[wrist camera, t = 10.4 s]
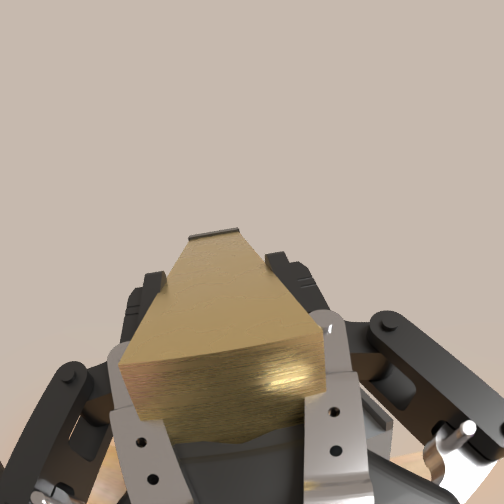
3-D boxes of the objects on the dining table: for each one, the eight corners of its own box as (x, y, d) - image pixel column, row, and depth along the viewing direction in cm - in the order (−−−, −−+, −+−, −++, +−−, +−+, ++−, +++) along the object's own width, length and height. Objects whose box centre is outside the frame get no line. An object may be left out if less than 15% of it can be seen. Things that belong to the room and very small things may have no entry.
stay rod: (171, 488, 6) (109, 356, 5) (198, 282, 27) (189, 235, 26) (331, 461, 6) (326, 320, 6) (245, 274, 28) (237, 227, 27)
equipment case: (317, 547, 25) (310, 448, 23) (298, 498, 36) (284, 395, 34) (377, 526, 26) (393, 420, 24) (350, 483, 37) (350, 377, 35)
